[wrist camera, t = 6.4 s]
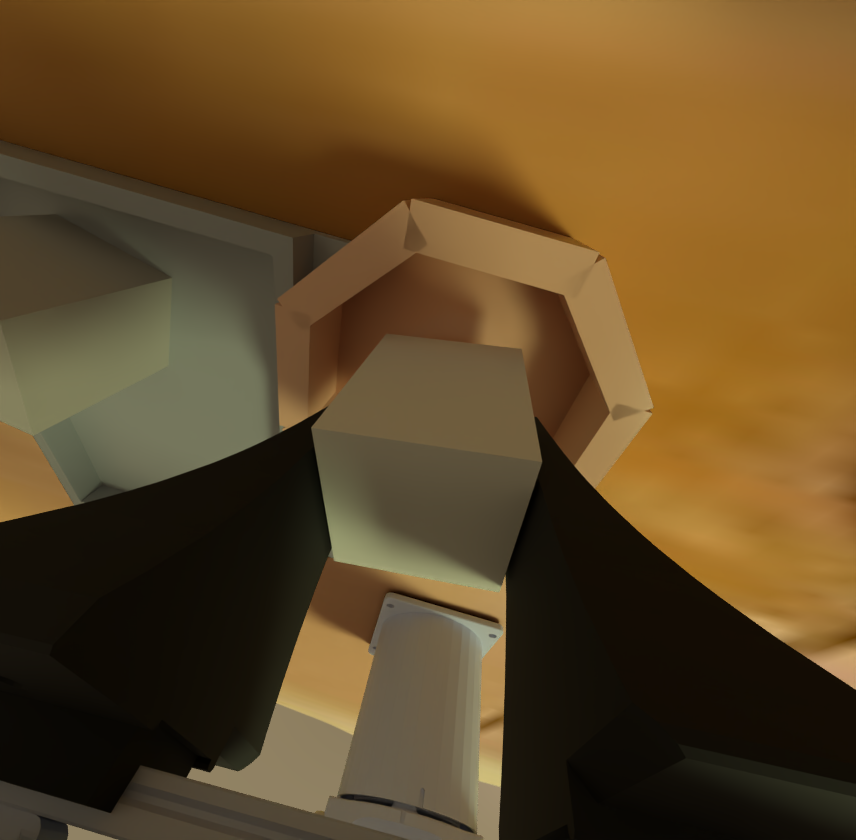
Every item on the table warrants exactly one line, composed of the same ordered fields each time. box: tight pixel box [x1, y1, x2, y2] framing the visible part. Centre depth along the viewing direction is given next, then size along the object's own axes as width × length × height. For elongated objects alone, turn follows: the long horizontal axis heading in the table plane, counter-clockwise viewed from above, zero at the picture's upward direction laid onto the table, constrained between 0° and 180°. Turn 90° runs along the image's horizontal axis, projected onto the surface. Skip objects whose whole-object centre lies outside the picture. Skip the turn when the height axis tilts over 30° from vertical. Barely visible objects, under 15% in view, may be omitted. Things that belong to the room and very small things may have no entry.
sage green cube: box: [311, 334, 542, 592], centre depth 9 cm, size 4×4×5 cm
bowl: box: [275, 198, 654, 488], centre depth 11 cm, size 11×11×3 cm
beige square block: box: [0, 214, 172, 436], centre depth 11 cm, size 4×4×5 cm
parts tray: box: [0, 140, 351, 558], centre depth 15 cm, size 17×17×2 cm
